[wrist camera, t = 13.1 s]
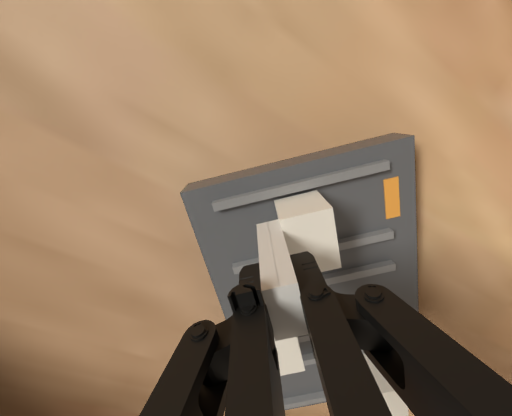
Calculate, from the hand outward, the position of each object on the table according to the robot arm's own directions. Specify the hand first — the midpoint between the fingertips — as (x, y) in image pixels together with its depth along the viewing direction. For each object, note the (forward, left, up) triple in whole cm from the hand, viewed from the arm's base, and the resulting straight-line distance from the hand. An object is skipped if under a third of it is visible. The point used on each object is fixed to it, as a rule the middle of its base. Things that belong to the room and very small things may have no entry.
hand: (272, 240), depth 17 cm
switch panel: (+3, -8, -5) cm, 10 cm away
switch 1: (+2, 0, -2) cm, 3 cm away
